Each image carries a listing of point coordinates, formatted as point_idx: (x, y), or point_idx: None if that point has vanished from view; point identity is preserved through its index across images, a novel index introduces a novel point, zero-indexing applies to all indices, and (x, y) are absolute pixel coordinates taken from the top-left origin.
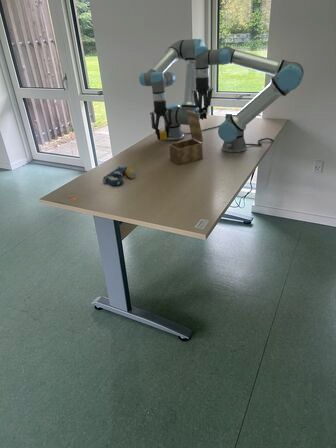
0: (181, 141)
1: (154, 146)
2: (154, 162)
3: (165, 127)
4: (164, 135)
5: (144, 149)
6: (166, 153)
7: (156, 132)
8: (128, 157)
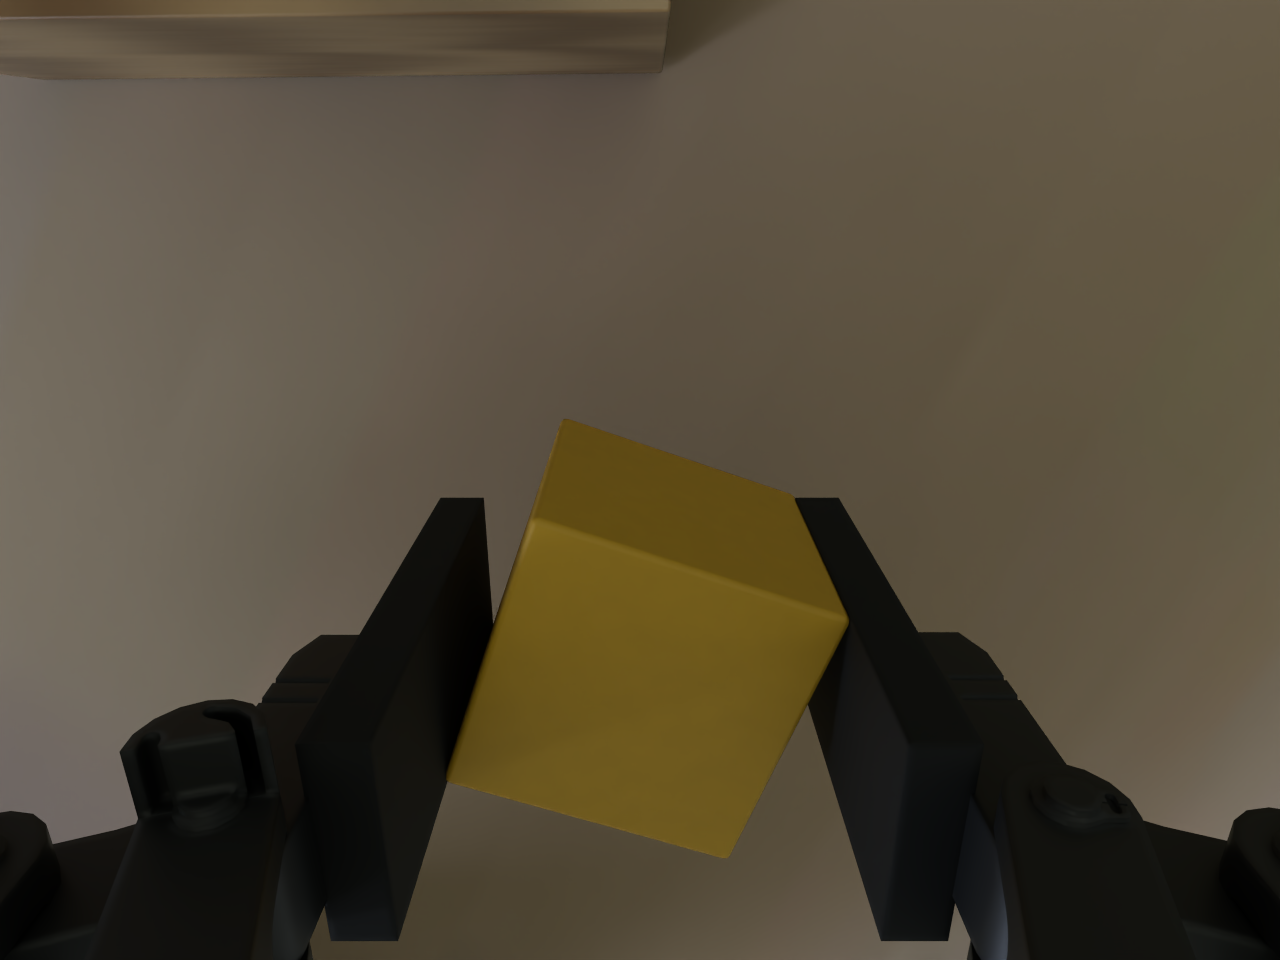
0: (128, 7)
1: (578, 903)
2: (1029, 151)
3: (402, 882)
4: (637, 500)
5: (784, 883)
6: None
7: (1009, 697)
8: (1212, 726)
